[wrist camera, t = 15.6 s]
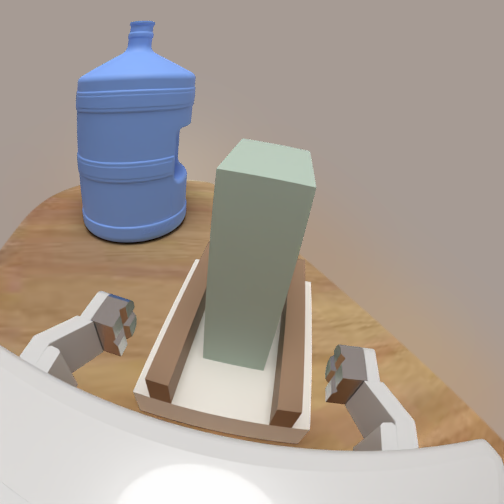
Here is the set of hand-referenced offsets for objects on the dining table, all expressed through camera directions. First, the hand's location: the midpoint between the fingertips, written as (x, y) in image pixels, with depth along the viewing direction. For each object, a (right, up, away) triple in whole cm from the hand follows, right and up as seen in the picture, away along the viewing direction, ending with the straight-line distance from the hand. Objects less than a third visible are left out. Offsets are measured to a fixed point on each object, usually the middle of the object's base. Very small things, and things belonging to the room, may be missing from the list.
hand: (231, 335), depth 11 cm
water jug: (-17, +8, +31) cm, 36 cm away
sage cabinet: (0, -3, +12) cm, 13 cm away
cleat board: (-1, -5, +14) cm, 15 cm away
